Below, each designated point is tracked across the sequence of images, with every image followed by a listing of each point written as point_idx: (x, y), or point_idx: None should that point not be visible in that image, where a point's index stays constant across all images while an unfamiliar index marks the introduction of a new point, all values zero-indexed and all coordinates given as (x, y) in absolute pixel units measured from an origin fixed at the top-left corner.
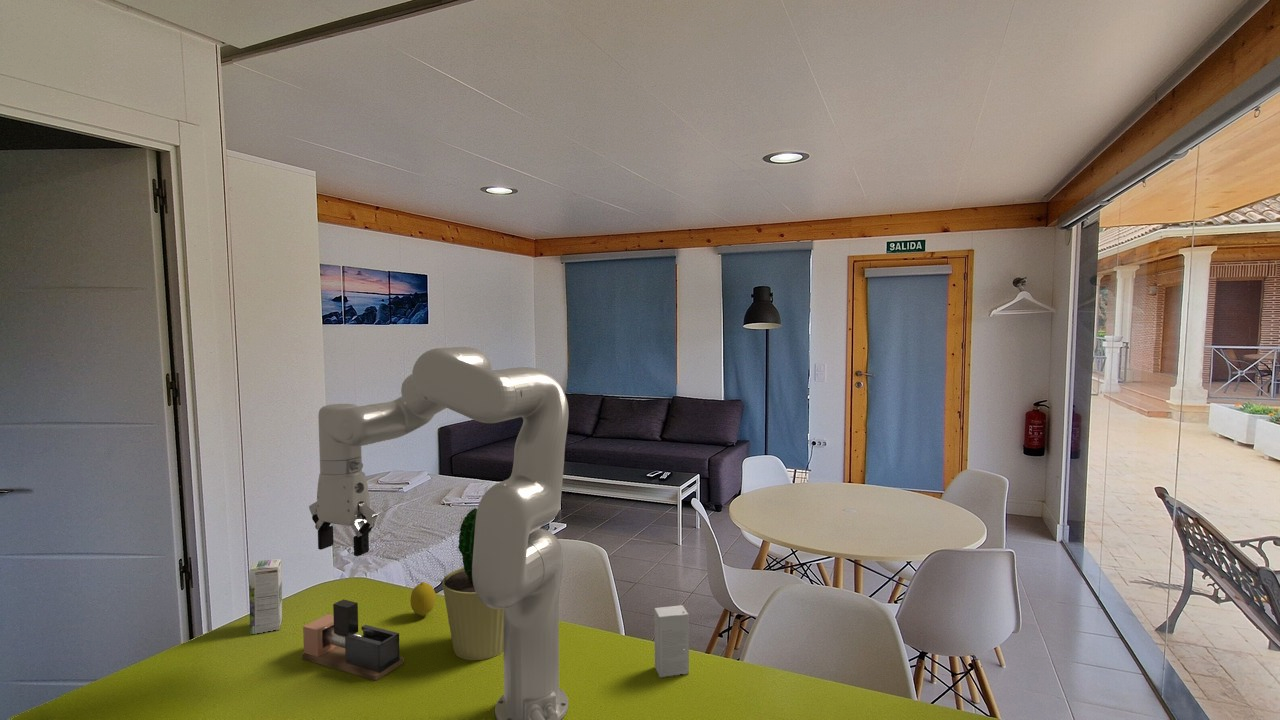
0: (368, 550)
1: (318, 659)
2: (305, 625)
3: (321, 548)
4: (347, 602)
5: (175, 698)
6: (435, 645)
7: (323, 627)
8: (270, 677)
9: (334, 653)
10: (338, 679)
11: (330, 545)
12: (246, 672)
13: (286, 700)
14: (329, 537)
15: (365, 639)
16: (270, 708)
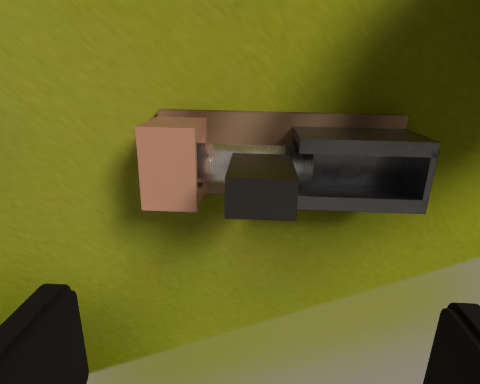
0: (476, 307)
1: (216, 193)
2: (142, 204)
3: (85, 381)
4: (262, 192)
5: (92, 346)
6: (437, 6)
7: (196, 192)
8: (173, 257)
9: None
10: (307, 218)
11: (75, 312)
12: (113, 260)
13: (270, 296)
14: (36, 375)
15: (366, 205)
16: (264, 318)
